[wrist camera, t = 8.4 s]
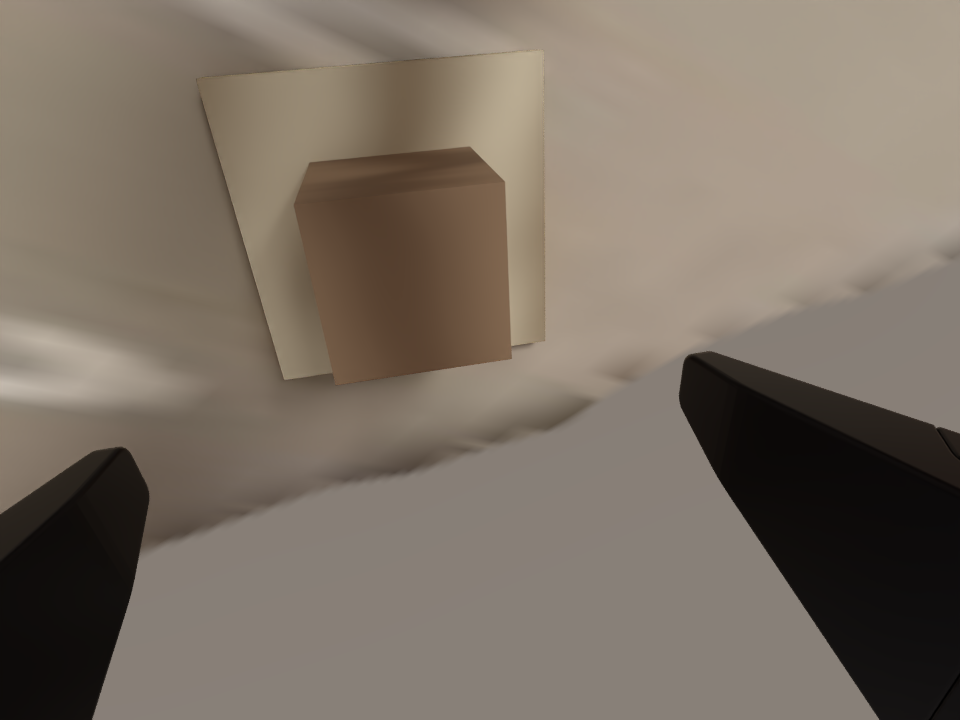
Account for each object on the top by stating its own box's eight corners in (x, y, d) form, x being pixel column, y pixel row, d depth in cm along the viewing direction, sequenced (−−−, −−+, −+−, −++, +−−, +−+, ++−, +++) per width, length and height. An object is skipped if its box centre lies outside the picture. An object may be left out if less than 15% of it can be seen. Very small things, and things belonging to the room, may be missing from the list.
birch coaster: (536, 49, 17) (543, 50, 17) (539, 331, 23) (545, 340, 22) (202, 77, 16) (196, 78, 15) (286, 369, 21) (284, 380, 21)
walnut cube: (469, 146, 18) (505, 181, 13) (479, 291, 20) (511, 358, 16) (309, 162, 17) (293, 204, 13) (340, 309, 20) (335, 385, 15)
